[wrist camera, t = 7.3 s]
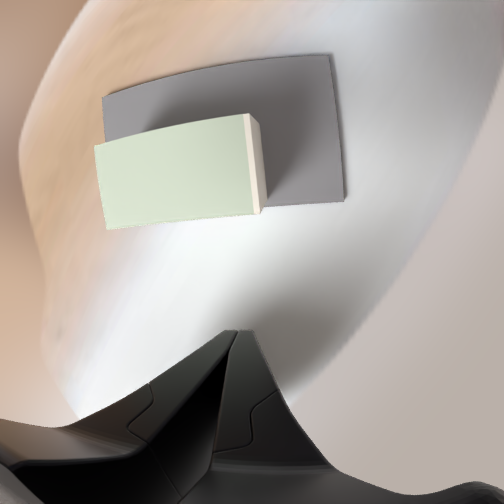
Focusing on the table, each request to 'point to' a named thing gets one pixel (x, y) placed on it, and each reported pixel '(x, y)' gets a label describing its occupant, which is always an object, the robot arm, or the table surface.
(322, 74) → the mat
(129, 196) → the sage block
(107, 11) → the table surface
